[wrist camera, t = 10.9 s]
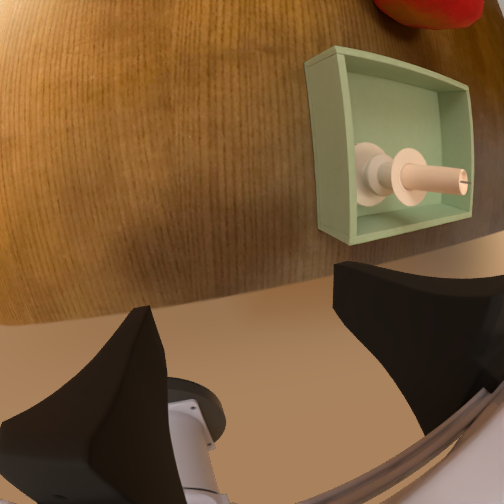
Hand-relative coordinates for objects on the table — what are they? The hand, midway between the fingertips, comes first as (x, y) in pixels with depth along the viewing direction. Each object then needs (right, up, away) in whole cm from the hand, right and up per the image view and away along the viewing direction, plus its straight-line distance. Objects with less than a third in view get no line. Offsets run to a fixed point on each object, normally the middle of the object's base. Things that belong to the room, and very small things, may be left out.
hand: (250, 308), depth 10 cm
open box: (+12, +12, +11) cm, 20 cm away
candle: (+9, +8, +11) cm, 16 cm away
